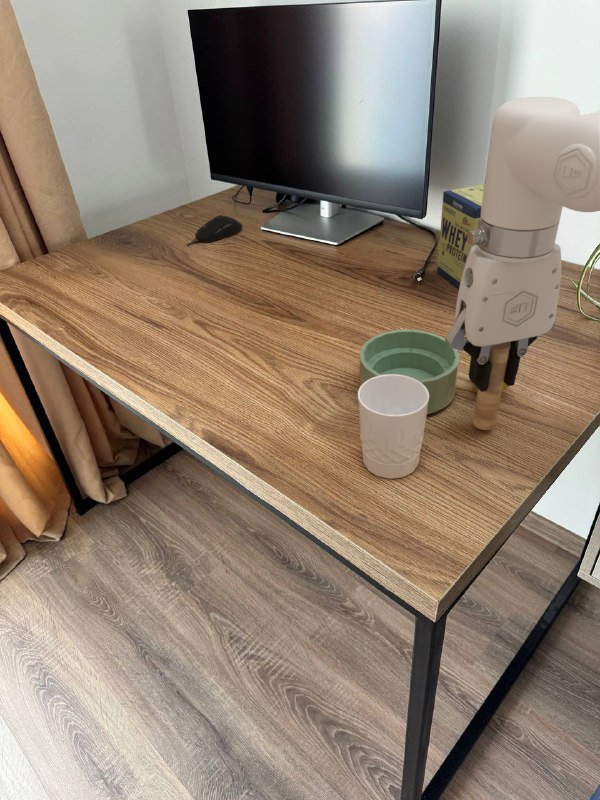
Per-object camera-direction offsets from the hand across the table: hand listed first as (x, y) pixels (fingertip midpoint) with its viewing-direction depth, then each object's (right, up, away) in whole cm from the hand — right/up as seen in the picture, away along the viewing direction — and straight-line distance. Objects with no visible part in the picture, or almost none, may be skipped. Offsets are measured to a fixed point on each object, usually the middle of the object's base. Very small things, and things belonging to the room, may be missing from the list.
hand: (491, 381), depth 70 cm
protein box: (+12, +21, +39) cm, 46 cm away
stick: (0, -5, +4) cm, 7 cm away
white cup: (-12, -10, +1) cm, 16 cm away
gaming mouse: (-43, +35, +64) cm, 85 cm away
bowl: (-8, -1, +12) cm, 14 cm away
